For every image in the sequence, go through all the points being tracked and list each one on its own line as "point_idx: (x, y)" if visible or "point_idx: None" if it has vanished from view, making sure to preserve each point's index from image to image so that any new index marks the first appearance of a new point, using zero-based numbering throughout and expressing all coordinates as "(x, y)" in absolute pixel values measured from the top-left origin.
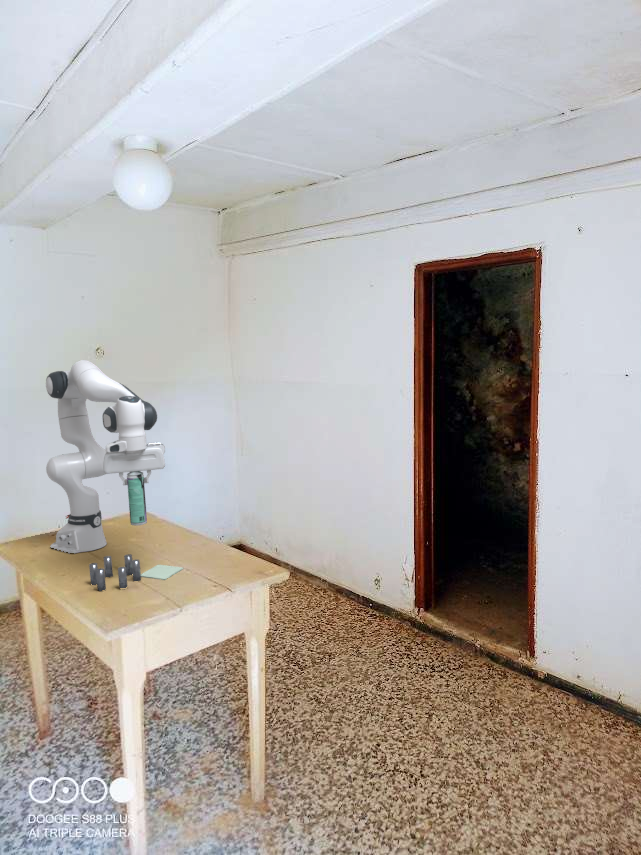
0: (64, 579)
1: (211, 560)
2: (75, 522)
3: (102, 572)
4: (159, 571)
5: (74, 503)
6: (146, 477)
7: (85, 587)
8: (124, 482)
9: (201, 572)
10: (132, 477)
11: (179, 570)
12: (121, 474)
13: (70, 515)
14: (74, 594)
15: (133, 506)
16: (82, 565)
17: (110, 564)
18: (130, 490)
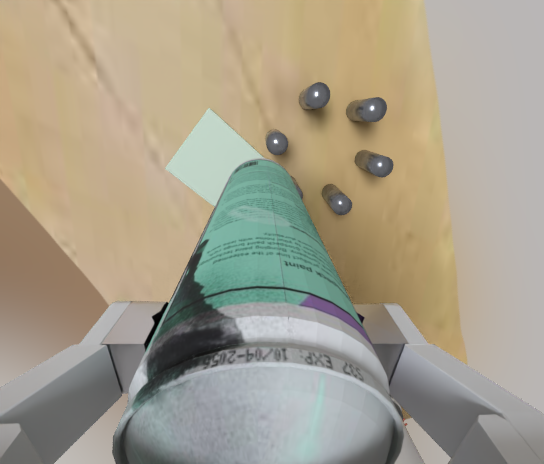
0: (413, 212)
1: (100, 195)
2: (390, 395)
3: (369, 99)
4: (221, 167)
5: (412, 447)
6: (106, 369)
7: (384, 145)
8: (395, 323)
9: (118, 122)
10: (319, 324)
11: (174, 155)
12: (523, 442)
13: (402, 419)
14: (413, 110)
15: (286, 185)
16: (369, 272)
17: (332, 193)
18: (316, 239)
